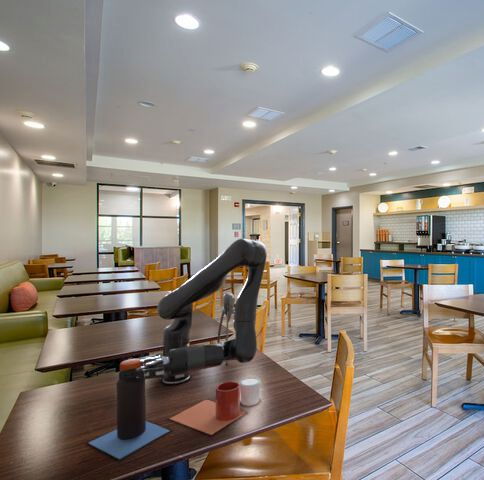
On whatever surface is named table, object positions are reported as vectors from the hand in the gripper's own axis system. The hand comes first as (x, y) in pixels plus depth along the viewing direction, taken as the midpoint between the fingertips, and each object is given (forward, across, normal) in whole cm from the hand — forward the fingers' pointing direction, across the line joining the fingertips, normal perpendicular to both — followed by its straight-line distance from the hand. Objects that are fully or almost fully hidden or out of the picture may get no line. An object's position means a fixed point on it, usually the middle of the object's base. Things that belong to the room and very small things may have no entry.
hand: (119, 372), depth 94 cm
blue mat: (-2, 0, +19) cm, 19 cm away
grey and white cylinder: (-37, -3, +19) cm, 41 cm away
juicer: (-39, -48, +19) cm, 65 cm away
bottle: (-3, 0, +18) cm, 18 cm away
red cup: (-28, +2, +19) cm, 34 cm away
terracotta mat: (-23, -1, +19) cm, 30 cm away
